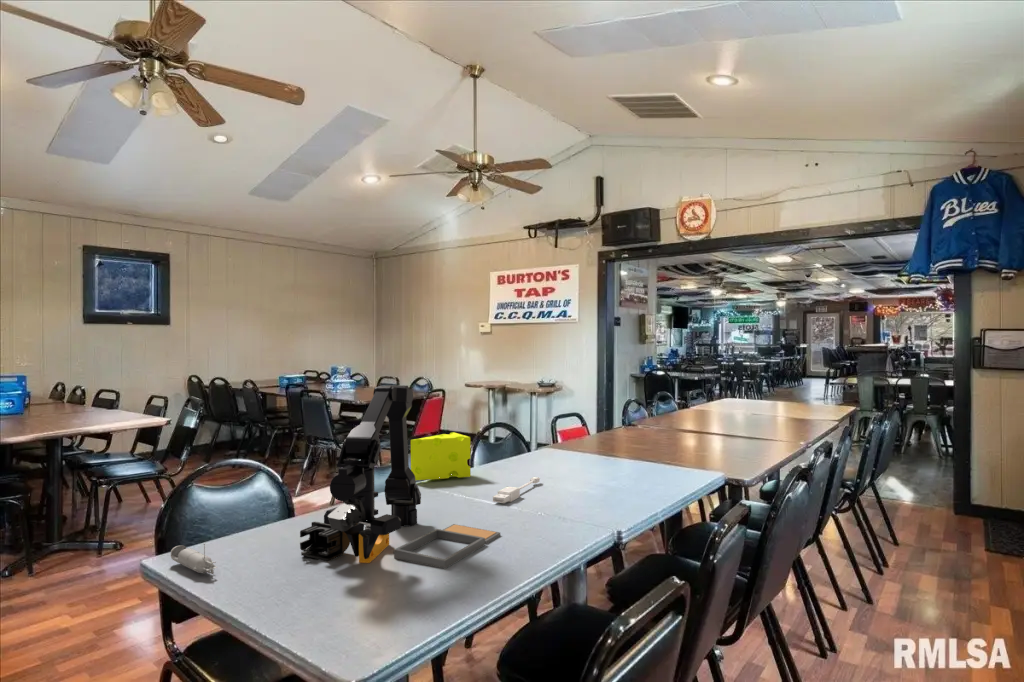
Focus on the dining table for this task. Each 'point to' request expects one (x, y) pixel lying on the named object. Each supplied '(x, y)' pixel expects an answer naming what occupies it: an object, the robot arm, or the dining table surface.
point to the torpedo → (193, 559)
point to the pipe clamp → (377, 549)
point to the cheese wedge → (440, 456)
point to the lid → (474, 532)
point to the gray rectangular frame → (407, 555)
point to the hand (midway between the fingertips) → (361, 557)
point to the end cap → (323, 542)
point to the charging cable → (512, 492)
